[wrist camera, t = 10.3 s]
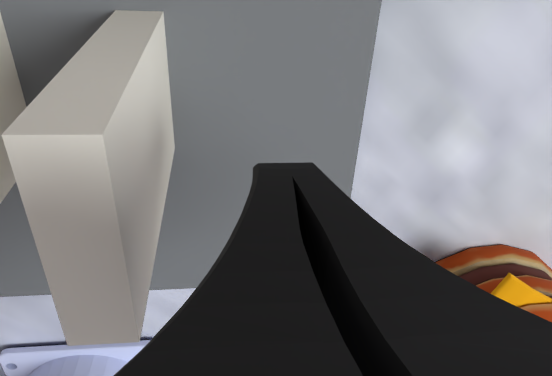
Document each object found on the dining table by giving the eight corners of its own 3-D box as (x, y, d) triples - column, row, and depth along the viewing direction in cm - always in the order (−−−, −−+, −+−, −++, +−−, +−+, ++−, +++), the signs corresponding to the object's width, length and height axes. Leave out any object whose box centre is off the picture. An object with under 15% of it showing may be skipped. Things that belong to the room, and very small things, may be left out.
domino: (163, 11, 15) (102, 134, 7) (174, 147, 17) (139, 342, 10) (115, 10, 14) (1, 134, 7) (134, 148, 17) (67, 345, 10)
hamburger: (473, 370, 29) (532, 483, 23) (354, 331, 26) (390, 451, 20) (591, 273, 25) (696, 381, 19) (467, 210, 22) (551, 320, 16)
